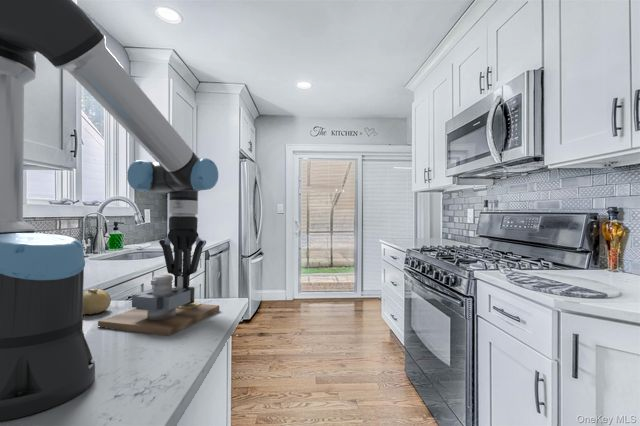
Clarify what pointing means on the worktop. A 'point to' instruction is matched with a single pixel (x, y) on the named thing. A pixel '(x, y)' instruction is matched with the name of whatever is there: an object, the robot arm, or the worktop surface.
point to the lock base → (158, 326)
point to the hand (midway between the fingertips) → (181, 298)
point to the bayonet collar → (163, 299)
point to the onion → (95, 301)
